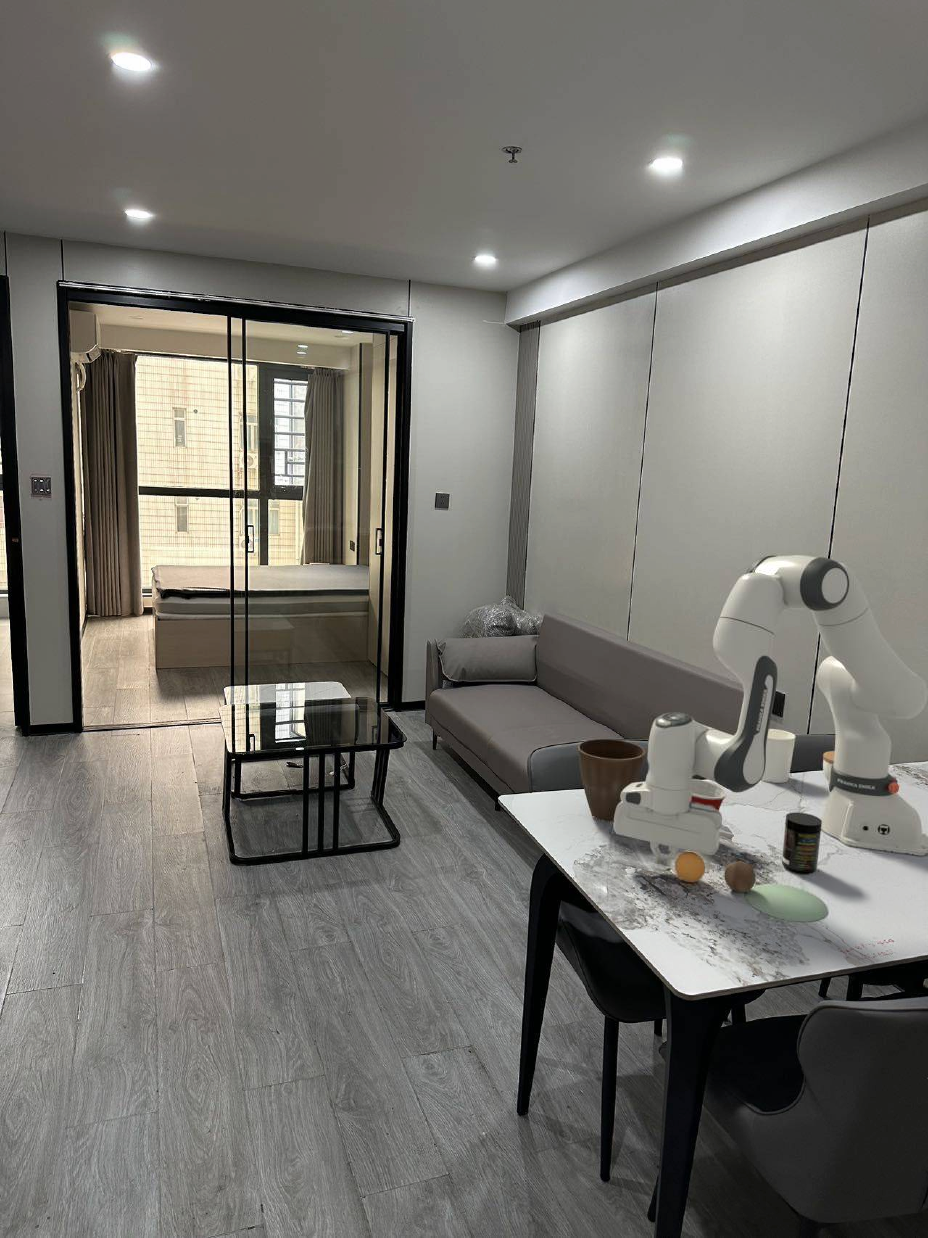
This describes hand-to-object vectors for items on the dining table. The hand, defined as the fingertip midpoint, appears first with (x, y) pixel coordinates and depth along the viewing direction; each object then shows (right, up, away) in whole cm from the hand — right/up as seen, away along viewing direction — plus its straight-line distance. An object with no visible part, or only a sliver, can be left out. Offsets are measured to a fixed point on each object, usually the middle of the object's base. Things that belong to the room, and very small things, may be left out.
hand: (663, 864), depth 167 cm
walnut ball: (+13, 0, -7) cm, 15 cm away
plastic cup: (+11, 0, +17) cm, 20 cm away
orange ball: (+4, 0, -3) cm, 6 cm away
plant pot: (-6, +3, +28) cm, 29 cm away
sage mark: (+20, -4, -11) cm, 23 cm away
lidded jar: (+59, +5, +54) cm, 80 cm away
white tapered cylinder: (+42, +6, +59) cm, 73 cm away
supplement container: (+28, -2, +4) cm, 29 cm away
